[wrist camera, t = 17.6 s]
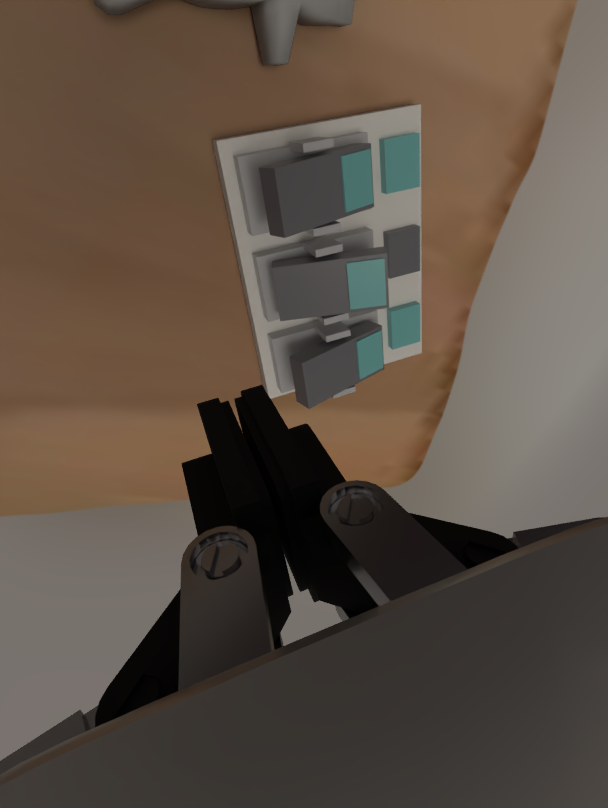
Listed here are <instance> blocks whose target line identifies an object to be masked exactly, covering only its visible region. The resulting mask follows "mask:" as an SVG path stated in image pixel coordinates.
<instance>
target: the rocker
mask: <svg viewBox="0 0 608 808" xmlns="http://www.w3.org/2000/svg"><path fill="white" fill-rule="evenodd" d="M350 334H351V336H347V337H344V338H340V339H337V340H333V341H330V342H326V341H325V340H324V341H322V342H320V343H318V344H316V345H314V346H311V347H309V348H307V349H305V350H303V351H301V352H298V353H296V354H294V355H292V356H290V357H289V358H290V364H291V370H292V376H293V381H294V387H295V393H296V399H297V402H299V403H301V404H302V405H304V406H305V407H307V408H308V409H309V408H311V407H313V406H315V405H317V404H319V403H321V402H323V401H325V400H326V399H328V398H330V397H332V396H334V395H336V394H338V393H340V392H342V391H343V390H345V389H347V388H349V387H351V386H353V385H355V384H357V383H359V382H360V381H362V380H364V379H366V378H368V377H370V376H372V375H374V374H376V373H377V372H379V371H381V370H383V369H384V356H383V337H382V325H379V324H377V323H374V322H371V321H369V320H368V321H366V322H364V323H361V324H359V325H357V326H355V327H353V328H351V329H350Z"/></svg>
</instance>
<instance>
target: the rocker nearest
mask: <svg viewBox="0 0 608 808" xmlns="http://www.w3.org/2000/svg"><path fill="white" fill-rule="evenodd" d="M259 173H260V179H261V185H262V191H263V197H264V203H265V209H266V215H267V221H268V227H269V233H270V235H272V236H277V237H282V238H286V237H289V236H292V235H295V234H298V233H301V232H304V231H306V230H309V229H312V228H315V227H318V226H321V225H324V224H327V223H329V222H332V221H335V220H338V219H341V218H344V217H347V216H349V215H352V214H355V213H358V212H361V211H364V210H367V209H370V208H372V207H374V193H373V174H372V155H371V143H354V144H350V145H346V146H342V147H338V148H334V149H330V150H326V151H322V152H318V153H314V154H310V155H306V156H302V157H298V158H294V159H290V160H286V161H283V162H279V163H275V164H271V165H267V166H263V167H259Z"/></svg>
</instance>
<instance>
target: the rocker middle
mask: <svg viewBox="0 0 608 808" xmlns="http://www.w3.org/2000/svg"><path fill="white" fill-rule="evenodd" d="M271 270H272V276H273V282H274V287H275V293H276V299H277V305H278V310H279V316H280V321H287V320H295V319H303V318H311V317H319V316H328V315H336V314H344V313H352V312H360V311H368V310H377V309H385V308H389V290H388V266H387V252H386V250H385V248H384V246H383V247H376V248H368V249H361V250H353V251H346V252H338V253H333V254H329V255H325V256H321V257H317V258H316V257H315V256H308V257H300V258H293V259H285V260H278V261H273V262H272V267H271Z"/></svg>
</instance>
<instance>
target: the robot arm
mask: <svg viewBox="0 0 608 808" xmlns="http://www.w3.org/2000/svg"><path fill="white" fill-rule="evenodd" d="M241 396H242V397H239V398H236V399H235V404H236V408H237V412H238V416H239V420H240V424H241V428H242V431H241V428H240V426H239V424H238V422H237V419H236V417H235V415H234V413H233V410H232V408H231V406H230V404H229V401H226V402H222V403H220V401H219V398H216V399H212V400H209V401H205V402H202V403H199V404H197V406H198V409H199V413H200V416H201V419H202V422H203V426H204V429H205V432H206V436H207V439H208V442H209V445H210V449H211V452H212V454H209V455H206V456H203V457H199V458H196V459H193V460H190V461H187V462H184V463H182V468H183V472H184V477H185V481H186V485H187V490H188V494H189V499H190V503H191V507H192V512H193V516H194V520H195V525H196V529H197V534H198V536H197V537H196V538H195V539H194V540H193V541H192V542H191V543H190V544H189V545H188V547H187V549H186V550H185V552H184V554H183V558H182V562H181V589H180V590H179V592H178V593H177V594H176V596H175V597H174V599H173V600H172V601H171V603H170V604H169V605H168V607H167V608H166V609H165V611H164V612H163V613H162V615H161V616H160V617H159V619H158V620H157V621H156V623H155V624H154V625H153V627H152V628H151V630H150V631H149V632H148V634H147V635H146V636H145V638H144V639H143V640H142V642H141V643H140V644H139V646H138V647H137V648H136V650H135V651H134V653H133V654H132V655H131V656H130V658H129V659H128V661H127V662H126V663H125V665H124V666H123V667H122V669H121V670H120V671H119V673H118V674H117V675H116V677H115V678H114V679H113V681H112V682H111V683H110V685H109V686H108V688H107V689H106V691H105V693H104V694H103V696H102V698H101V700H100V702H99V705H98V706H97V707H95V708H93V709H92V710H90V711H89V712H87V713H86V714H83V713H82V711H81V710H79V711H77V712H76V713H74V714H73V715H71V716H70V717H68V718H67V719H65V720H63V721H62V722H60V723H59V724H57V725H56V726H54V727H53V728H51V729H49V730H48V731H46V732H45V733H43V734H42V735H40V736H39V737H37V738H35V739H34V740H32V741H31V742H30V743H28V744H26V745H24V746H23V747H21V748H20V749H18V750H17V751H15V752H14V753H12V754H10V755H9V756H7V757H6V758H4V759H3V760H1V761H0V808H608V517H601V518H592V519H586V520H581V521H575V522H569V523H563V524H558V525H551V526H546V527H540V528H534V529H528V530H523V531H516V532H513V538H508V539H507V538H505V537H504V536H501V535H499V534H496V533H493V532H490V531H485V530H481V529H477V528H472V527H468V526H464V525H459V524H455V523H451V522H446V521H442V520H438V519H433V518H429V517H425V516H420V515H416V514H411V513H408V512H407V511H406V510H405V509H404V508H402V506H400V505H399V504H398V503H397V502H396V501H395V500H394V499H393V498H392V497H391V496H390V495H389V494H388V493H387V492H386V491H385V490H383V489H382V488H381V487H379V486H378V485H376V484H373V483H370V482H367V481H359V480H355V481H346V480H345V479H344V477H343V476H342V474H341V473H340V471H339V470H338V468H337V467H336V465H335V464H334V462H333V461H332V459H331V458H330V456H329V455H328V453H327V452H326V450H325V449H324V447H323V446H322V444H321V443H320V441H319V440H318V438H317V437H316V435H315V434H314V432H313V431H312V429H311V428H310V427H309V425H308V424H303V425H300V426H296V427H293V428H290V429H288V428H287V426H286V424H285V423H284V421H283V419H282V417H281V416H280V414H279V412H278V411H277V409H276V407H275V406H274V404H273V402H272V401H271V399H270V397H269V396H268V394H267V392H266V390H265V389H264V387H263V386H262V385H260V386H256V387H253V388H249V389H246V390H243V391H241ZM242 432H243V433H242ZM284 555H285V556H284ZM285 557H286V559H287V562H288V564H289V567H290V569H291V571H292V574H293V576H294V579H295V581H296V583H297V586H298V588H299V590H300V591H304V590H306V589H309V592H310V594H311V596H312V599H313V601H314V602H316V601H319V600H320V601H323V602H326V603H330V604H332V605H335V606H336V610H337V613H338V615H339V617H340V619H341V620H342V621H343V622H340V623H338V624H335V625H333V626H331V627H328V628H326V629H324V630H321V631H319V632H316V633H314V634H312V635H309V636H307V637H304V638H302V639H300V640H297V641H295V642H293V643H290V644H288V645H286V646H283V641H282V638H281V634H280V632H281V630H282V628H283V626H284V624H285V622H286V620H287V619H288V617H289V615H290V613H291V608H290V604H289V600H288V597H289V596H291V595H293V590H292V586H291V582H290V577H289V574H288V569H287V565H286V560H285Z"/></svg>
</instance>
